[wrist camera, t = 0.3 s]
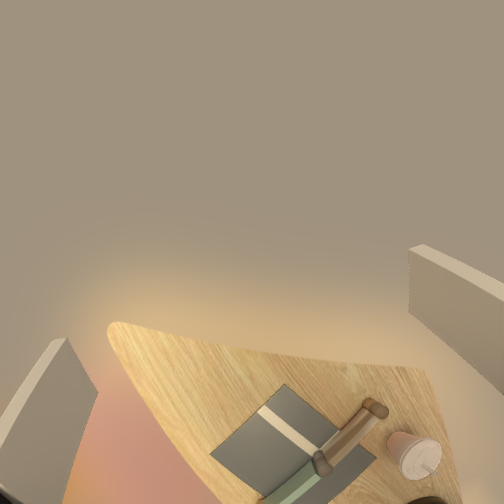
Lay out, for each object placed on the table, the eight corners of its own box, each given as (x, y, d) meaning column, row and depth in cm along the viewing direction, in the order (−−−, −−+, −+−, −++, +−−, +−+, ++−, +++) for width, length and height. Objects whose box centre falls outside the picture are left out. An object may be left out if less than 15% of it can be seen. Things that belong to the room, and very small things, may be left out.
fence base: (376, 402, 40) (392, 411, 33) (318, 462, 38) (325, 479, 31) (367, 395, 40) (382, 403, 34) (309, 455, 38) (315, 472, 32)
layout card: (375, 457, 37) (376, 458, 37) (303, 520, 35) (303, 522, 34) (284, 383, 42) (284, 384, 41) (210, 453, 39) (209, 454, 39)
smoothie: (375, 460, 37) (408, 496, 24) (382, 424, 39) (421, 451, 25) (410, 456, 36) (451, 487, 23) (417, 421, 38) (463, 444, 25)
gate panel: (309, 458, 38) (314, 474, 32) (317, 464, 37) (323, 480, 31) (254, 503, 36) (252, 522, 30) (262, 509, 35) (261, 528, 29)
